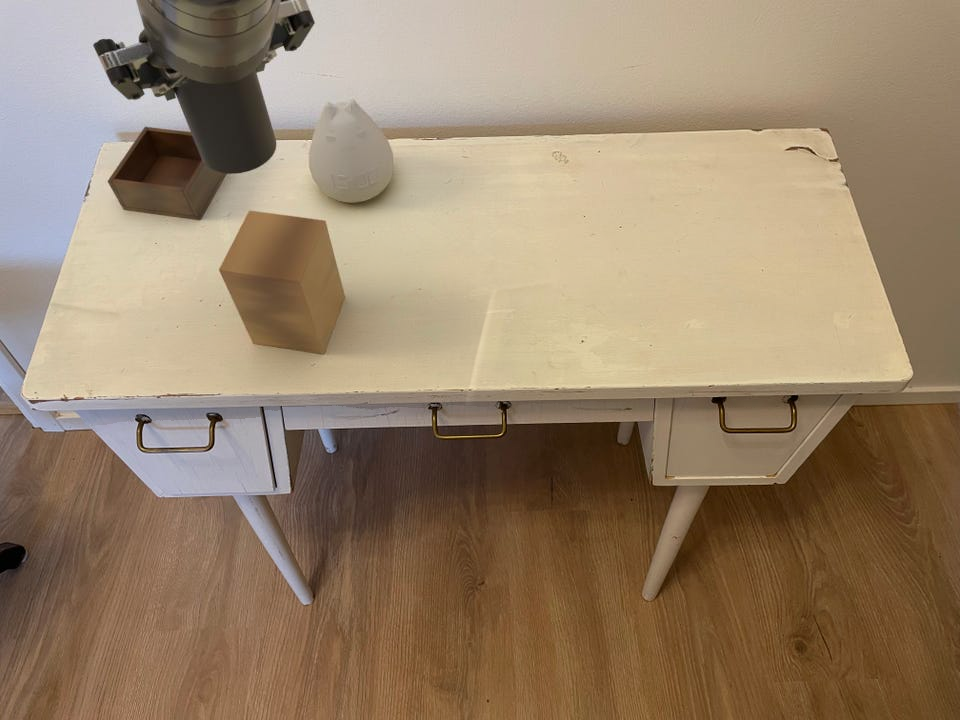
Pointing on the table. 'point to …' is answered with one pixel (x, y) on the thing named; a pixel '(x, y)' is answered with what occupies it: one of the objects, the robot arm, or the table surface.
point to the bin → (165, 176)
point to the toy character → (349, 154)
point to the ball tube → (229, 123)
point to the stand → (284, 281)
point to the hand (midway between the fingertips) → (209, 72)
